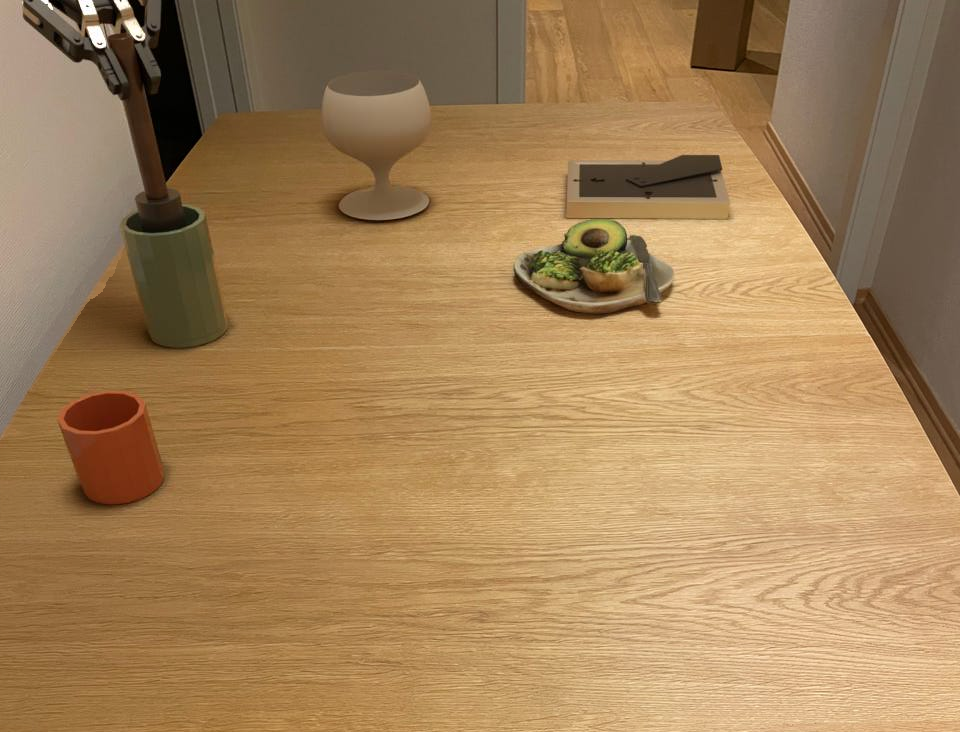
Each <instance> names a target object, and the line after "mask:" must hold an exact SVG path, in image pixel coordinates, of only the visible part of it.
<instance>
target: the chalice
mask: <svg viewBox="0 0 960 732" xmlns="http://www.w3.org/2000/svg"><path fill="white" fill-rule="evenodd" d="M321 127H322V132H323V135H324V136H325V138H326V140H327V141H328V142H329V143H330V145H331V146H332V147H333V148H334V149H336V150H338V151H339V152H340V153H342V154H344V155H347V156H349V157H351V158H353V159H354V160H357V161H359V162H361V163H363V165H366V166H367V167H368V168H369V169H370V170H371V172H372V174H373V176H374V180H375V181H374V186H369V187H364V188H361V189H358V190H354V191H352V192H350V193H347V195H345V196H344V197H343V198H342V199H341V200H340V201H339V203H338V208H339V210H340V211H341V212H342V213H343V214H345V215H346V216H349V217H352V218H356V219H361V220H368V221H386V220H389V221H390V220H395V219H403V218H405V217H410V216H413V215H415V214H417V213H420V212H421V211H423V210H425V209H426V208H427V207H428V205H429V203H430V198H429V197H428V195H427V194H425V193H424V192H422V191H421V190H419V189H416V188H413V187H409V186H404V185H391V183H390V179H389V178H390V172H391V170H392V168H393V167H394V165H395V164H396V163H398V161H399V160H401V159H402V158H403V157H405V156H406V155H408V154H410V153H411V152H413V151H414V150H416V149H417V148H419V147H420V146H421V145H422V144H423V143H424V142H425V140H426V139H427V137H428V135H429V134H430V132H431V129H432V111H431V106H430V103H429V100H428V96H427V93H426V90H425V87H424V85H423V84H422V82H421V80H420V78H419V77H417V76H416V75H414V74H413V73H408V72H405V71H398V70H387V69H386V70H385V69H383V70H381V69H379V70H376V69H375V70H363V71H355V72H351V73H350V72H349V73H346V74H343V75H340V76H337V77H335V78H333V79H331V80H330V81H328V83H327V85H326V88H325V90H324V93H323V97H322V103H321ZM393 187H396V188H393ZM372 188H373V190H369V191H365V190H368V189H372ZM362 191H365V192H362ZM360 192H361V193H360ZM357 193H358V194H357ZM356 194H357V195H356Z"/></svg>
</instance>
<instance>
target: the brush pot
mask: <svg viewBox="0 0 960 732" xmlns="http://www.w3.org/2000/svg"><path fill="white" fill-rule="evenodd" d="M57 423H58V426H59V429H60V431H61V435H62V437H63V440H64V442H65V445H66V448H67V451H68V455H69V457H70V460H71V463H72V465H73V469H74V471H75V473H76V477H77V478H78V482H79V485H80V487H81V489H82V491H83V493H84V495H85V496H86V498H88V499H89V500H91V501H93V502H95V503H97V504H98V503H99V504H103V505H122V504H127V503H132V502H136V501H139V500H141V499H143V498H146V497H148V496H149V495H151V494H152V493H154V492H156V491H157V489H158V488H159V487H160V486H161V485H162V484H163V482H164V479H165V471H164V464H163V461H162V457H161V454H160V450H159V446H158V443H157V439H156V435H155V432H154V429H153V426H152V422H151V419H150V415H149V412H148V408H147V404H146V402H145V401H144V399H143V398H142V397H141V396H140V395H138V394H136V393H134V392H130V391H128V390H113V389H111V390H110V389H109V390H102V391H97V392H91V393H88V394H85V395H83V396H81V397H78V398H76V399H74V400H72V401H70V402H69V403H68V404H67V405H66V406H65V407H63V408H62V409H61V410H60V412H59V414H58V417H57Z"/></svg>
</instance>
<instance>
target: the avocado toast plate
mask: <svg viewBox="0 0 960 732" xmlns="http://www.w3.org/2000/svg"><path fill="white" fill-rule="evenodd" d="M563 236H564V240H563V241H562V242H561V243H560V244H556V245H549V246H545V247H540V248H534V249H531V250H528V251H524V252H523V253H520V254H519V255H517V257H516V258H515V261H514V263H513V266H512V267H513V273H514V275H515V278H516V279H517V280H518V282H519V283H520V284H521V285H522V286H524V287H525V288H527V289H530V290H531V291H532V292H534V293H535V294H536V295H537V296H538V297H541V298H543V299H545V300H547V301H548V302H550V303H553V304H555V305H558V306H560V307H561V308H563V309H565V310H567V311H569V312H574V313H575V312H576V313H582V314H583V313H584V314H591V315H592V314H597V315H598V314H599V315H600V314H601V315H602V314H609V313H616V312H619V311H622V310H625V309H628V308H632V307H637V306H641V305H645V304H646V303H648V304H654V305H655V304H656V305H657V304H661V303H662V301H663V299H662V295H661V293H663V292H664V291H665V290H667V289H669V288H670V286H671V285H672V283H673V281H674V279H675V274H676V271H675V269H674V268H673V267H672V266H671V265H670V264H668V263H666V262H664V261H663V260H661V259H659V258H657V256H655V255H652V254H651V253H650V252H649V250H648V249H647V248H648V244H647V242H646V241H645V239H644V238H643V237H642V236H641V235H635V234H629V236H628V232H627V231H626V228H625V227H624V226H623V225H622V224H621V223H620V222H618V221H616V220H614V219H611V218H590V219H586V220H584V221H581V222H578V223H576V224H574V225H572V226H571V227H569V228H568V230H567V231H566V232H565V233H564V234H563Z"/></svg>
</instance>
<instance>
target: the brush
mask: <svg viewBox="0 0 960 732" xmlns="http://www.w3.org/2000/svg"><path fill="white" fill-rule="evenodd" d="M106 39H107V42H108V47H109V49H110V48H112V50H113V52H114V54H115V56H116V58H117V60H118V62H119V64H120V66H121V68H122V70H123V72H124V74H125V76H126V78H127V80H128V82H129V85H130V95H129V99H126V100H122V104H123V108H124V113H125V117H126V120H127V121H126V122H127V125H128V129H129V133H130V138H131V141H132V146H133V149H134V154H135V158H136V162H137V165H138V170H139V173H140V178H141V182H142V186H143V191H141V192H138V193H137V194H136V195H135V196H134V202H135V205H136V211H137V210H138V214H139V218H140V222H141V226H142V229H143V233H162V232H169V231H174V230H179V229H182V228H184V227H187V224H186V220H185V215H184V211H183V206H182V204H183V202H182V197H181V192H180V191H179V190H177V189H175V188H170V187H168V186H167V182H166V176H165V173H164V169H163V164H162V160H161V155H160V151H159V147H158V143H157V138H156V134H155V129H154V124H153V120H152V117H151V112H150V108H149V104H148V103H149V102H148V99H147V94H146V88H145V86H144V84H143V81H142V76H141V72H140V67H139V63H138V59H137V54H136V50H135V46H134V41H133V37H132V35H131V34H128V33H119V34H115V33H113V34H110V35H108V36H107V37H106Z"/></svg>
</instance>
